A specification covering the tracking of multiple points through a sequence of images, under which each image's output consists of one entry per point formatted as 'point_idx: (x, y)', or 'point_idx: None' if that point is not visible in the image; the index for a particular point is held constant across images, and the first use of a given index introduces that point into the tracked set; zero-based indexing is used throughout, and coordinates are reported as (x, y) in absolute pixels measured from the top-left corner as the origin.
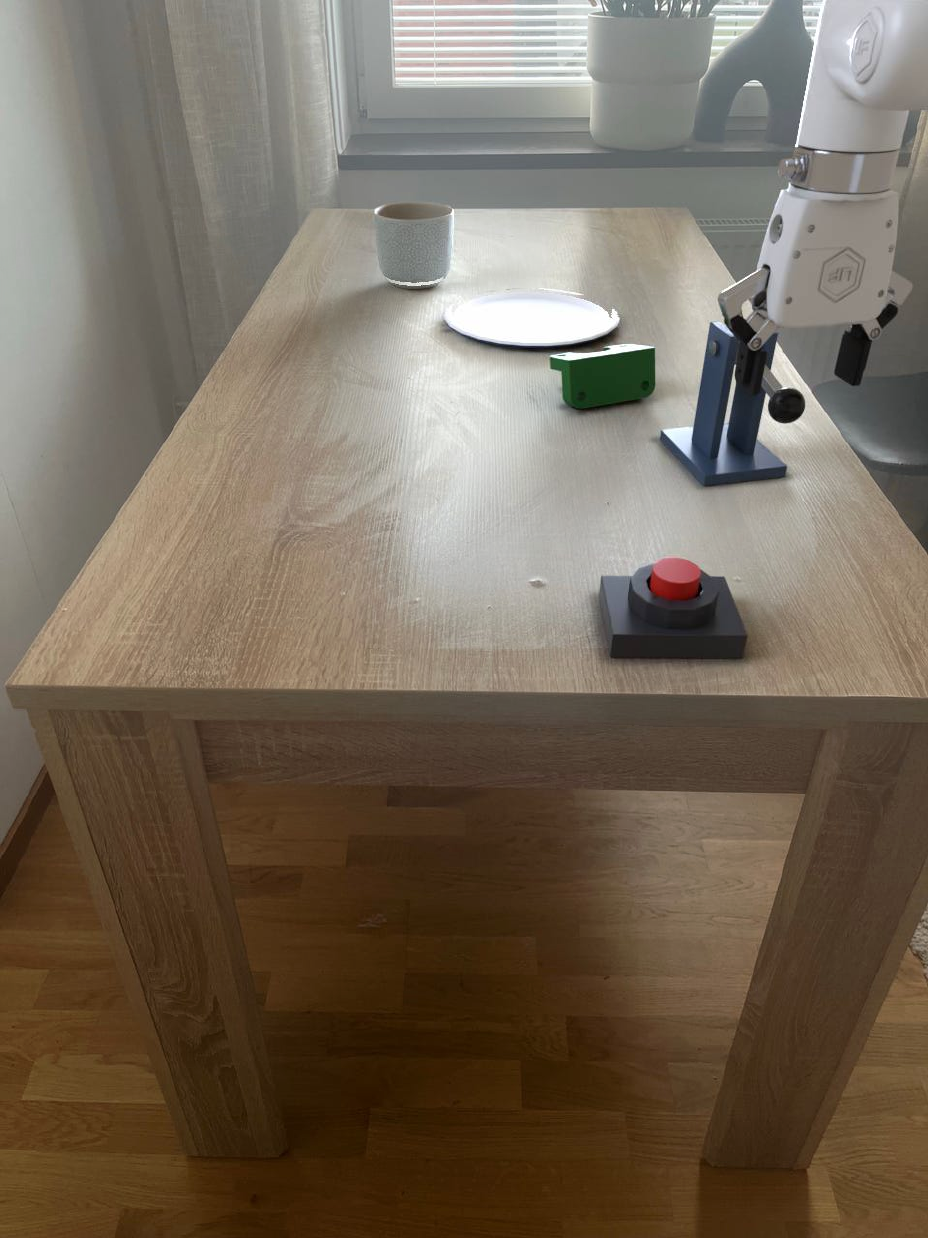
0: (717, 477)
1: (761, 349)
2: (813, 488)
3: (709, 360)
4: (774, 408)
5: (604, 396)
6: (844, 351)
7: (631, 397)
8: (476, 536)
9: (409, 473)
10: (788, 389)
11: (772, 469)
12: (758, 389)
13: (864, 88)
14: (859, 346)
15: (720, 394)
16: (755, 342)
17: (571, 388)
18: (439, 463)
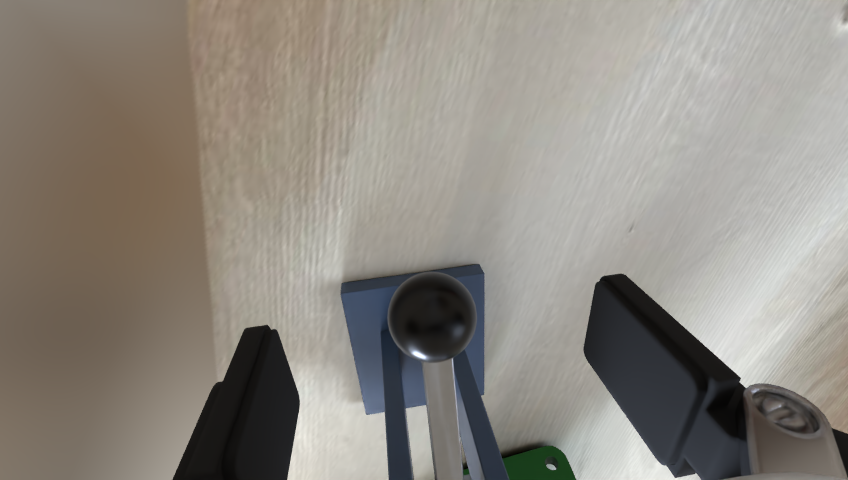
0: (462, 272)
1: (723, 393)
2: (307, 246)
3: None
4: (472, 299)
5: (517, 466)
6: (278, 461)
7: None
8: (833, 161)
9: (802, 315)
10: (446, 343)
11: (367, 287)
12: (615, 284)
13: None
14: (241, 456)
15: (484, 406)
16: (786, 416)
17: (571, 472)
18: (759, 335)
